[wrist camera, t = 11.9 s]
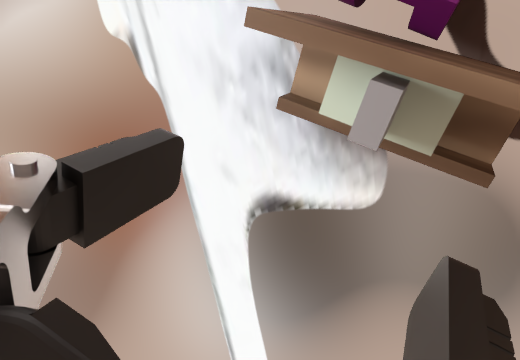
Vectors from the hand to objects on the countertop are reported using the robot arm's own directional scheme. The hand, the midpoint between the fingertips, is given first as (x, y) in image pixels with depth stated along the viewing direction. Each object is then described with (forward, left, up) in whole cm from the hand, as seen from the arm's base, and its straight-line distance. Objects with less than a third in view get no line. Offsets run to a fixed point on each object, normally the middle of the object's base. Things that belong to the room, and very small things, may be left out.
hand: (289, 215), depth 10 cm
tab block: (0, 0, -27) cm, 27 cm away
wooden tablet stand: (0, 0, -28) cm, 28 cm away
